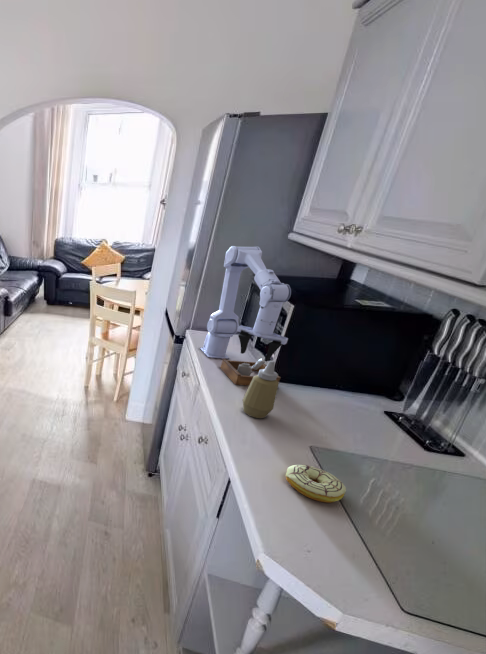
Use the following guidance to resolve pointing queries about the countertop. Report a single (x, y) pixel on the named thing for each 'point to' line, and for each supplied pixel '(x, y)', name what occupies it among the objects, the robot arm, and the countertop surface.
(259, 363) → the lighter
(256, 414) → the squeeze bottle
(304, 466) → the decorated donut
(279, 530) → the countertop surface
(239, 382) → the wooden tray
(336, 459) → the countertop surface
